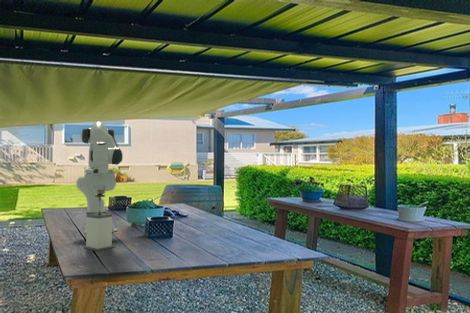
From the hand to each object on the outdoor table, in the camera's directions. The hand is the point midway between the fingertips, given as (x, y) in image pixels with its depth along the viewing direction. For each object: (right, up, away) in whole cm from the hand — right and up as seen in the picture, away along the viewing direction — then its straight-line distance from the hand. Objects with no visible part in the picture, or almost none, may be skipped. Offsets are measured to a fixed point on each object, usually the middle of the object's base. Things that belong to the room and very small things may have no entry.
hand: (99, 194), depth 251 cm
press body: (-1, -31, 0) cm, 31 cm away
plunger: (0, -16, 0) cm, 16 cm away
